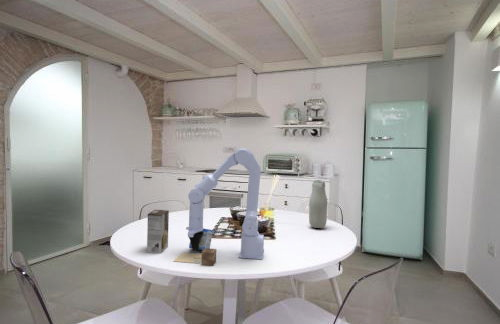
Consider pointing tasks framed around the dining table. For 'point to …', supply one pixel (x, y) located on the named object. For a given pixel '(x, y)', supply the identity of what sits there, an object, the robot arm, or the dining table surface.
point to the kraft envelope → (189, 258)
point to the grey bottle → (318, 205)
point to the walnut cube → (208, 257)
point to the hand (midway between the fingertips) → (195, 249)
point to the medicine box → (204, 239)
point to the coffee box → (157, 231)
